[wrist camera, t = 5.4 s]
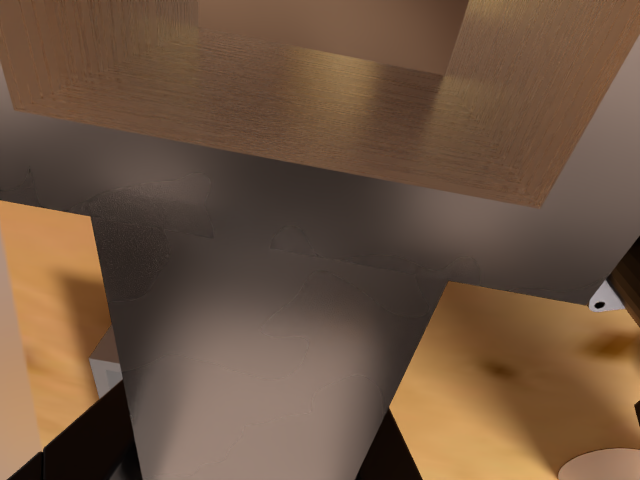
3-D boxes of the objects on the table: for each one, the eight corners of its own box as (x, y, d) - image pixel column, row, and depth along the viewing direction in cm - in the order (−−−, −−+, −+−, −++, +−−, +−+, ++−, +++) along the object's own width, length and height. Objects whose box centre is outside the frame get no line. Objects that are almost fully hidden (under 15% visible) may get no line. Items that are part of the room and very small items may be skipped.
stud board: (381, 326, 24) (387, 420, 19) (196, 294, 23) (154, 381, 19) (631, -334, 10) (889, -609, 5) (183, -440, 10) (6, -840, 5)
